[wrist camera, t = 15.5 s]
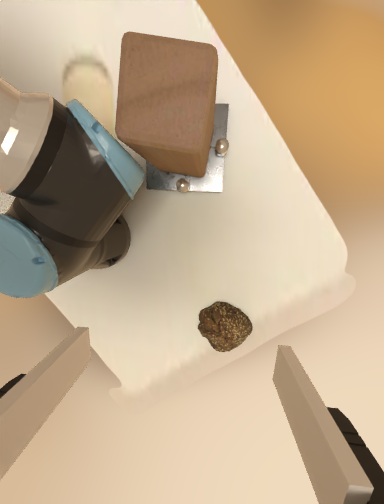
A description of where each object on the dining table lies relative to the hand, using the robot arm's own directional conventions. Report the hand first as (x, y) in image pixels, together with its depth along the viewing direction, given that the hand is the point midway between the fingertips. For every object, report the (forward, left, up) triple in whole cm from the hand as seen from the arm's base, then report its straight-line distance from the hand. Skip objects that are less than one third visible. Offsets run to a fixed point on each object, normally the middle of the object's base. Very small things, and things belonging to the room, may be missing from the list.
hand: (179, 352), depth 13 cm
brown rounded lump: (+7, -19, -33) cm, 39 cm away
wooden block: (-4, +21, -31) cm, 38 cm away
